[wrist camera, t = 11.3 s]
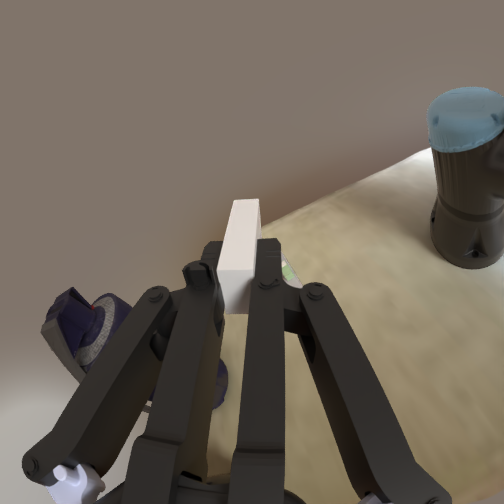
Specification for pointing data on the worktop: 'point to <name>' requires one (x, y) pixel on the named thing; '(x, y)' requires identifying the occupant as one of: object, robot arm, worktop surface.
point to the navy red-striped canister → (95, 334)
